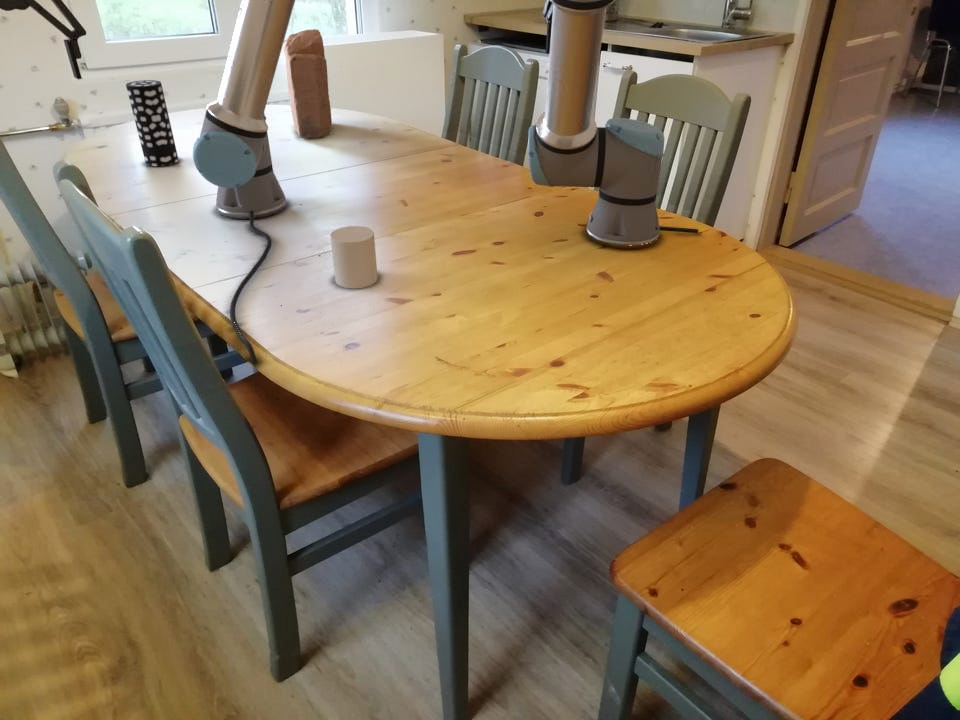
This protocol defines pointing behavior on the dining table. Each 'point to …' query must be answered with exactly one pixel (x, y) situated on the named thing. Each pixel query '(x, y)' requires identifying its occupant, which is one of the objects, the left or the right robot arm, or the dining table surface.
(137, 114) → the black white spotted cylinder
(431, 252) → the dining table surface
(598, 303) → the dining table surface
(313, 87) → the stone
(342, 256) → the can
